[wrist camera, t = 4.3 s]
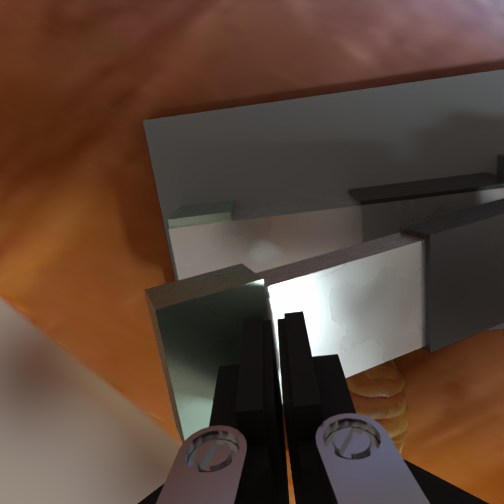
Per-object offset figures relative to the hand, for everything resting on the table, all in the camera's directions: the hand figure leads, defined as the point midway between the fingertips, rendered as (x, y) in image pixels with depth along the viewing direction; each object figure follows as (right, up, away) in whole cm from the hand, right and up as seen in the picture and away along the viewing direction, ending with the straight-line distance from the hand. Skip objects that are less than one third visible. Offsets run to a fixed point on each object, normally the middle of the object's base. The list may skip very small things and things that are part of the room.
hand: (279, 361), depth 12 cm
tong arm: (+4, +2, +4) cm, 5 cm away
